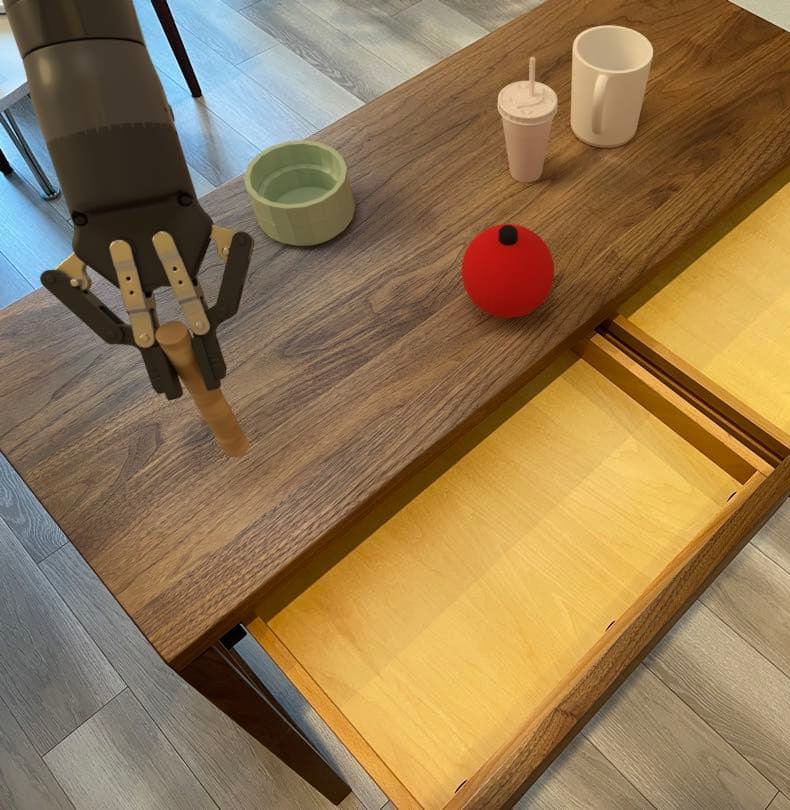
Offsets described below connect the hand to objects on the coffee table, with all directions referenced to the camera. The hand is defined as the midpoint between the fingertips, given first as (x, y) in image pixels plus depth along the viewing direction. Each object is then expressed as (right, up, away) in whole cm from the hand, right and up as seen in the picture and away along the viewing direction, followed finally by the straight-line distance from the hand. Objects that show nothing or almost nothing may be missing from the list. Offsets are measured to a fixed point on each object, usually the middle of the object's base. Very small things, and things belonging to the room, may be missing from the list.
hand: (195, 391), depth 53 cm
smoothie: (+22, +26, +37) cm, 50 cm away
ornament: (+20, +10, +26) cm, 34 cm away
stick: (-1, -4, +10) cm, 11 cm away
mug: (+31, +32, +41) cm, 61 cm away
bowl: (-2, +20, +32) cm, 37 cm away
